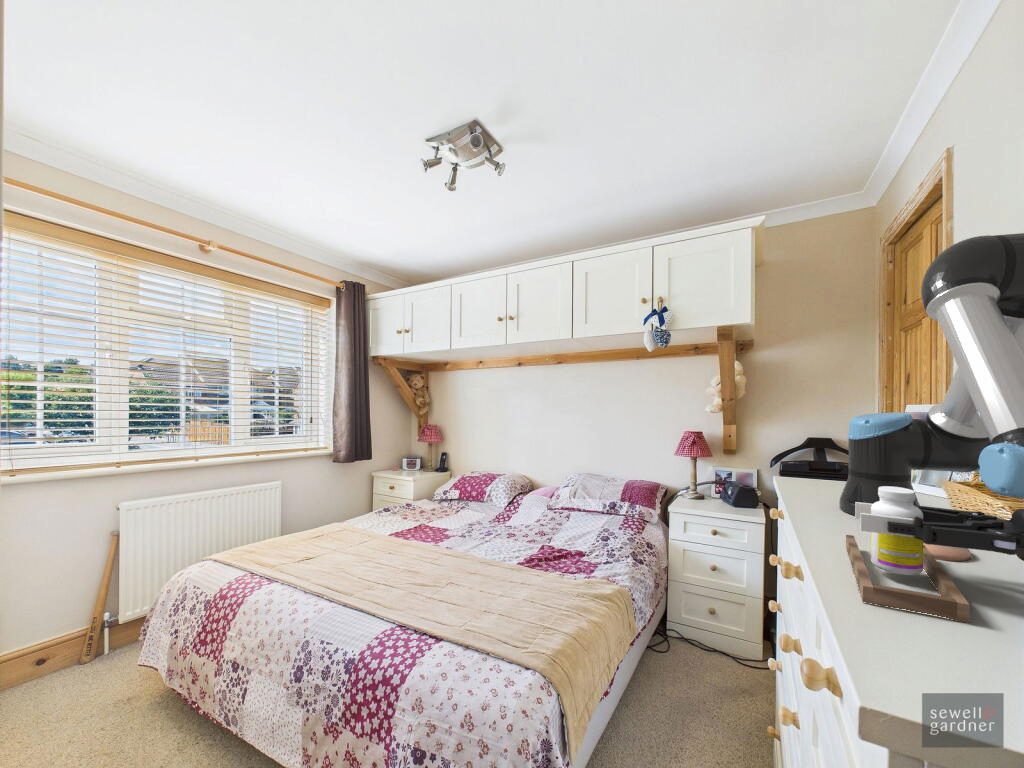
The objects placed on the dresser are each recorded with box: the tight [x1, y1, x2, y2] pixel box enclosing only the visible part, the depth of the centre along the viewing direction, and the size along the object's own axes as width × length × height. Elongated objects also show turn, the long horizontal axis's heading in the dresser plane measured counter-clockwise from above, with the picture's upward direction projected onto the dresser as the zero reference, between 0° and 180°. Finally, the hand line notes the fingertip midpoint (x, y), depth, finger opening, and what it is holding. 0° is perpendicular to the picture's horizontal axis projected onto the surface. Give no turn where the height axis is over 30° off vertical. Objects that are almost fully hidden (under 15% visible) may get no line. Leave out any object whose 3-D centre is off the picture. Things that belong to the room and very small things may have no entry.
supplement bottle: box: [870, 486, 924, 576], centre depth 77 cm, size 7×7×13 cm
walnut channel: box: [845, 534, 971, 624], centre depth 76 cm, size 25×11×2 cm, turn 149°
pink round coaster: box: [923, 543, 971, 562], centre depth 88 cm, size 10×10×1 cm
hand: (858, 515), depth 79 cm, fingers closed on supplement bottle, 7 cm apart
